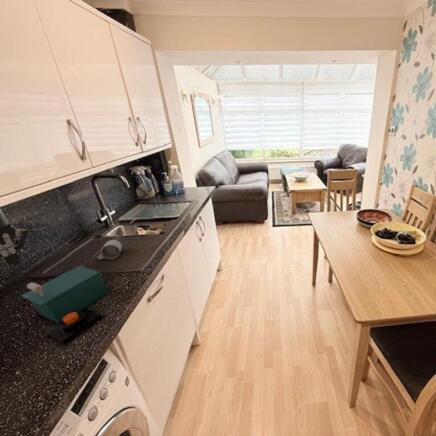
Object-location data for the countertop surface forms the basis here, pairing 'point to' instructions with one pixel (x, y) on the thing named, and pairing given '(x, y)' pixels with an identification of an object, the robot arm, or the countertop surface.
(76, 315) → the button
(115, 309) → the countertop surface
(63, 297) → the bin
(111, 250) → the ceramic mug
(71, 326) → the panel
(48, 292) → the bin lid
